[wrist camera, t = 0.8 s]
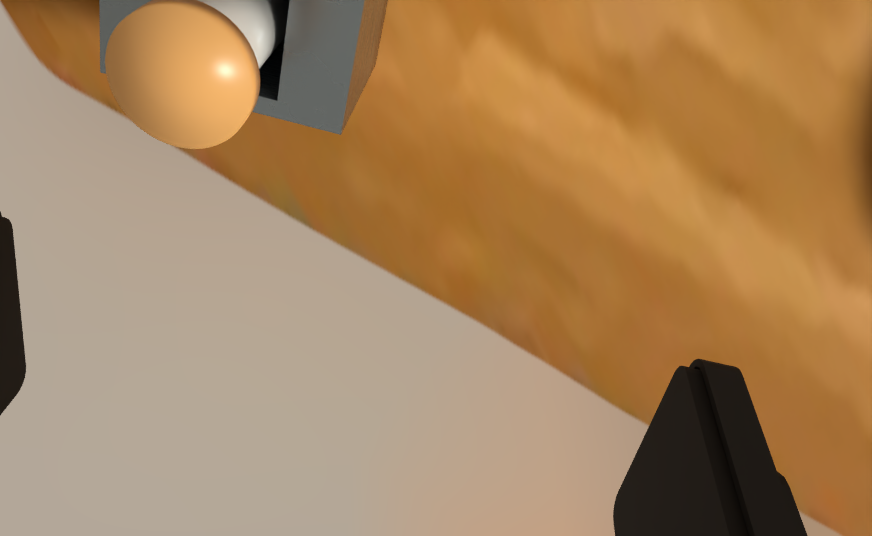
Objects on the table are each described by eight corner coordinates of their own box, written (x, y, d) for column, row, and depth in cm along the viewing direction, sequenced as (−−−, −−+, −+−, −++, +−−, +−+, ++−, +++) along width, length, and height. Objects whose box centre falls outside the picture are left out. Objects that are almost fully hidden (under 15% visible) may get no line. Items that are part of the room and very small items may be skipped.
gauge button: (194, -68, 32) (104, -13, 26) (317, -36, 32) (258, 28, 26) (188, 51, 35) (105, 128, 29) (301, 80, 35) (245, 164, 29)
